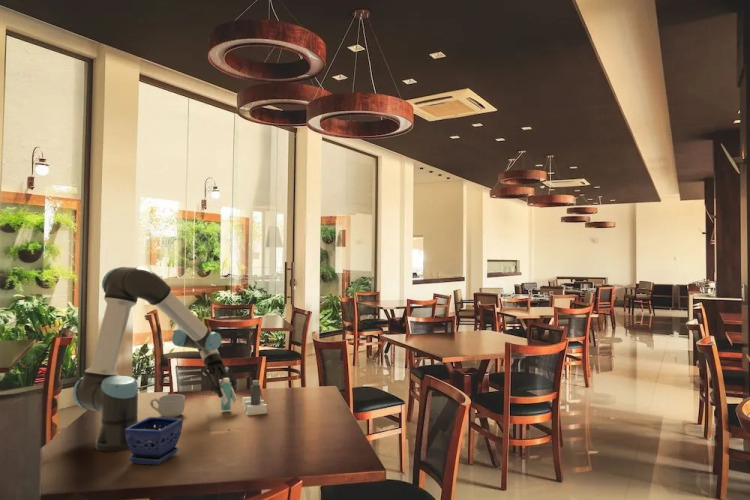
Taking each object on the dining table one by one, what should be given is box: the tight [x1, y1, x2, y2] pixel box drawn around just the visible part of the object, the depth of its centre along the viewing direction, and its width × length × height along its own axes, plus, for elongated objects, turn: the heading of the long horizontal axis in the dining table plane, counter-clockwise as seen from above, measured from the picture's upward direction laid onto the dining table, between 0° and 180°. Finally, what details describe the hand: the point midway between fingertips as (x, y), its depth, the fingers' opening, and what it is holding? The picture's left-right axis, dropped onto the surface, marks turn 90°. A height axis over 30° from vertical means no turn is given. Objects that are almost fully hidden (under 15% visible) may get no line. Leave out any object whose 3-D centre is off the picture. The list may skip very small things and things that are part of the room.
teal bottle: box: [220, 378, 232, 411], centre depth 223 cm, size 4×4×13 cm
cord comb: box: [241, 395, 268, 416], centre depth 226 cm, size 16×8×4 cm, turn 22°
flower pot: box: [125, 416, 184, 466], centre depth 172 cm, size 13×13×12 cm
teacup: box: [149, 393, 186, 418], centre depth 220 cm, size 14×11×8 cm
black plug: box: [250, 379, 261, 405], centre depth 223 cm, size 4×4×13 cm
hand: (230, 401), depth 220 cm, fingers closed on teal bottle, 4 cm apart
